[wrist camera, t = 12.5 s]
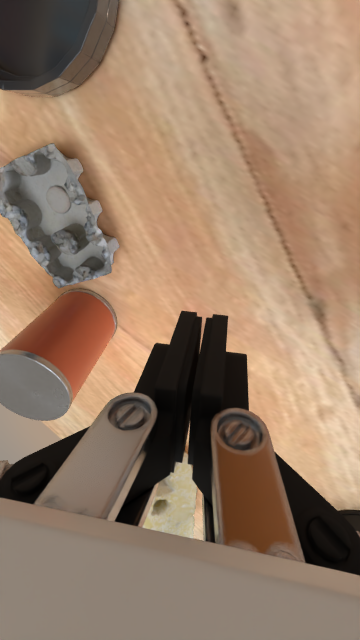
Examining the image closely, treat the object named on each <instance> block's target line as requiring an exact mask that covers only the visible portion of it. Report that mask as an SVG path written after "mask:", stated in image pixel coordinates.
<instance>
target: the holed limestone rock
mask: <svg viewBox="0 0 360 640" xmlns="http://www.w3.org/2000/svg"><path fill="white" fill-rule="evenodd" d="M192 471H193V470H192V466H191V465H190V464H188V454H187V453H186V452H185V451H184V456H183V461H182V463H179V462H176V464H175V469H174V473H170V475H169V476H168V477H166V478H165V479H163V480H162V481H160V482H159V485H158V489H157V492H156V495H155V497H154V500H153V502H152V505H151V507H150V510H149V512H148V515H147V517H146V520H145V522H144V525H143V527H142V528H146V529H151V530H156V531H160V532H165V533H170V534H174V535H179V536H183V537H188V538H193V537H194V530H193V529H194V516H193V515H194V512H195V508H196V493H197V488H196V484H195V483H194V481H193V480H192ZM193 539H194V538H193Z"/></svg>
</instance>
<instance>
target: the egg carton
mask: <svg viewBox="0 0 360 640" xmlns="http://www.w3.org/2000/svg"><path fill="white" fill-rule="evenodd" d="M82 172H83V167H82V165H81V163H80V162H79V160H78V159H77V158H74V159H70V158H67V157H66V156H64V155H63V154H62V153H61V152H60V151H59V150H58V149H57V148H56V147H55V145H54V143H51V144H49V145H47V146H45V147H43V148H41V149H38V150H36V151H34V152H32V153H30V154H28V155H26V156H22V157H19V158H17V159H15V160H13V161H12V162H10V163H9V164H8V165H6V166H4V167H2V168H0V214H1V215H2V217H5V218H8V219H9V221H10V222H11V224H12V226H13V228H14V231H15V233H16V234H17V235H18V236H20V237H21V239H22V240H23V242H24V243H25V245H26V246H27V247H28V249H29V251H30V254H31V255H32V257H33V258H34V259H35V260H36V261H37V262H38V263H39V264H40V265H41V266H42V267H43V268H44V269H45V271H46V272H47V273H48V274H49V275H51V276H52V277H53V283H54V284H55V286H57V287H58V288H61V287H64V286H67V285H73V284H76V283H79V282H83V281H87V280H91V279H94V278H98V277H100V276H104V275H107V274H109V273H111V271H112V269H111V265H112V264H113V263H114V261H113V254H114V252H115V251H116V250H117V249H118V248H119V244H118V242H117V240H116V238H115V237H109V236H107V235H104V234H103V233H102V231H101V230H100V229H99V228H98V226H97V218H98V216H99V214H100V213H101V212H102V211H103V210H102V207H101V205H100V203H99V201H98V200H90V199H89V198H87V197H86V195H85V192H84V190H83V188H82V186H81V184H80V183H79V181H78V178H79V176H80V174H81V173H82Z"/></svg>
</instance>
